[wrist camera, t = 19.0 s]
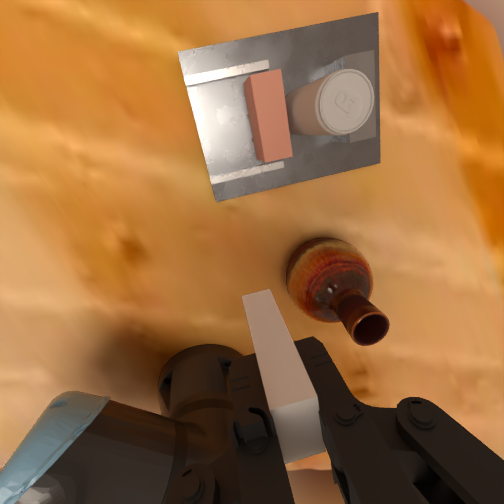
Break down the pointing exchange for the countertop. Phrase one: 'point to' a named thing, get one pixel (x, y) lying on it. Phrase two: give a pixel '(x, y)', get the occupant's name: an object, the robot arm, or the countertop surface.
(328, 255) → the vase
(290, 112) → the beverage can
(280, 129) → the block
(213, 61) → the grey vise base
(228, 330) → the countertop surface
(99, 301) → the countertop surface
